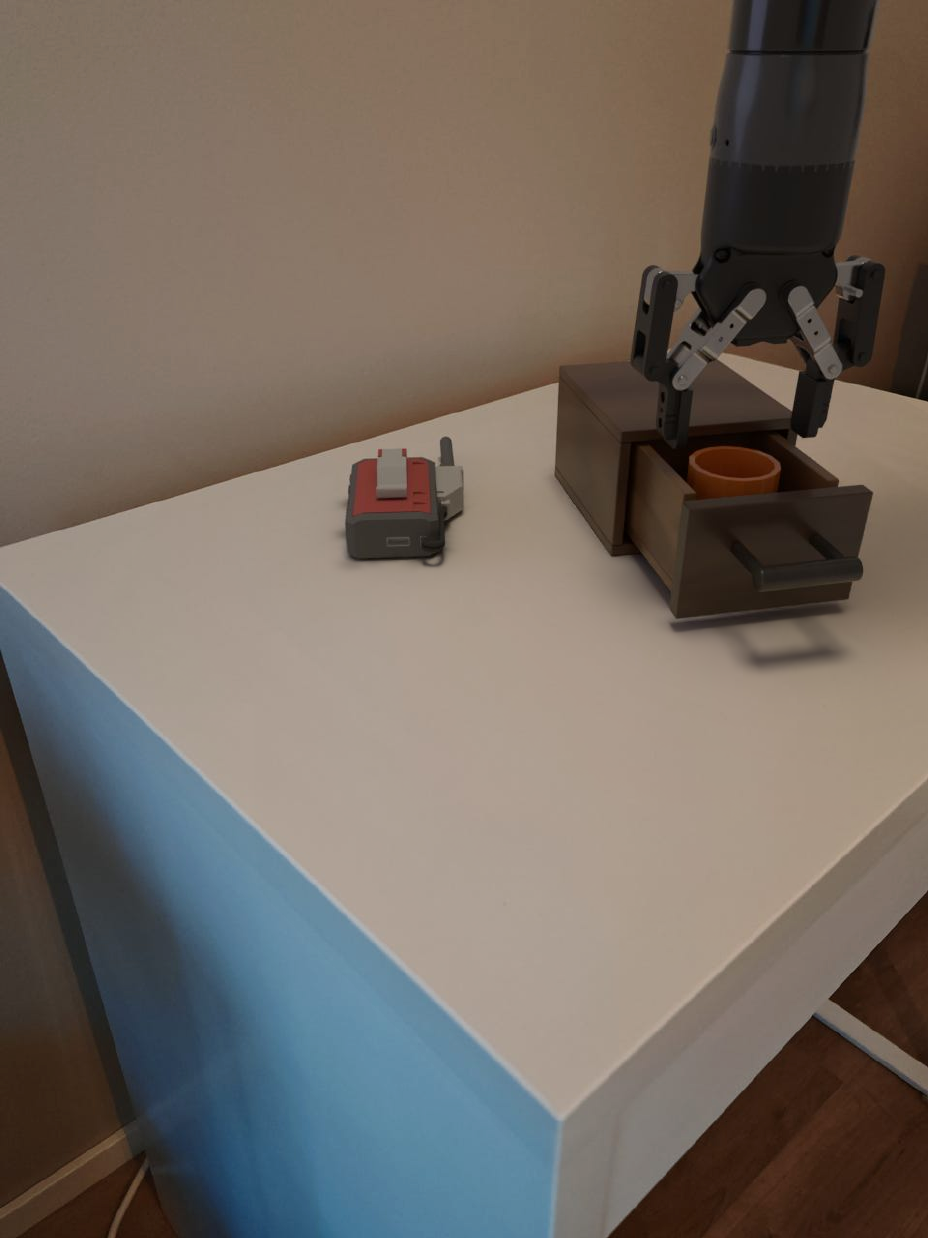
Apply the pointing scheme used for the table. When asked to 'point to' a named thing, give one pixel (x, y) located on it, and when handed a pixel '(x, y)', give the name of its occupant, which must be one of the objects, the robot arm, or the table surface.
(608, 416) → the cabinet
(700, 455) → the orange cup
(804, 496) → the drawer
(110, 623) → the table surface
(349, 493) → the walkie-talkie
